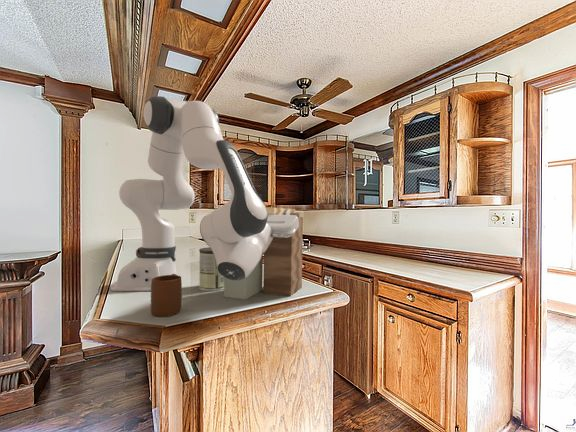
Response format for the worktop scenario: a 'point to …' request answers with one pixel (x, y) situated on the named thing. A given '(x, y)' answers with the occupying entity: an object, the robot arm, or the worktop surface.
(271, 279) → the brown wooden block
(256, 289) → the shelf block
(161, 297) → the mug
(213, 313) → the worktop surface
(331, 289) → the worktop surface
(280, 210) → the tan wooden bar
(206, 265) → the coffee can
